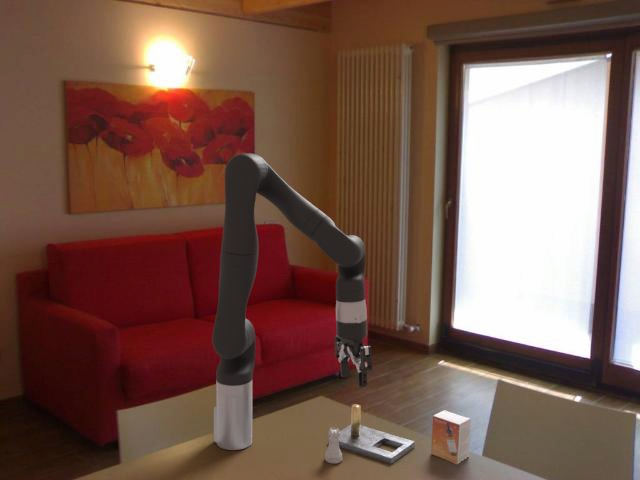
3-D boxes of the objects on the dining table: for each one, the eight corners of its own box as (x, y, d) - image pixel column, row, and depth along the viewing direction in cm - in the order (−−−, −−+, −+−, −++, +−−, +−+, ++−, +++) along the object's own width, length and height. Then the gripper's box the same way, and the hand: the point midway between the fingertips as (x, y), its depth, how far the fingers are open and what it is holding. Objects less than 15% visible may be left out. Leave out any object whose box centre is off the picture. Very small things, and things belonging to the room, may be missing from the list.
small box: (430, 454, 175) (431, 415, 174) (442, 447, 179) (444, 409, 178) (457, 465, 170) (459, 424, 168) (469, 457, 174) (471, 418, 172)
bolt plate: (328, 443, 181) (329, 408, 179) (353, 428, 190) (354, 395, 189) (391, 464, 170) (392, 427, 168) (414, 447, 179) (415, 412, 178)
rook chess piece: (340, 465, 169) (341, 434, 168) (323, 463, 170) (323, 432, 168) (343, 457, 173) (344, 426, 172) (326, 455, 174) (327, 425, 173)
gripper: (324, 314, 173) (326, 376, 175) (352, 326, 160) (355, 393, 162) (350, 309, 176) (352, 371, 178) (380, 321, 163) (382, 386, 166)
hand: (353, 381), depth 170 cm, fingers open, 8 cm apart
